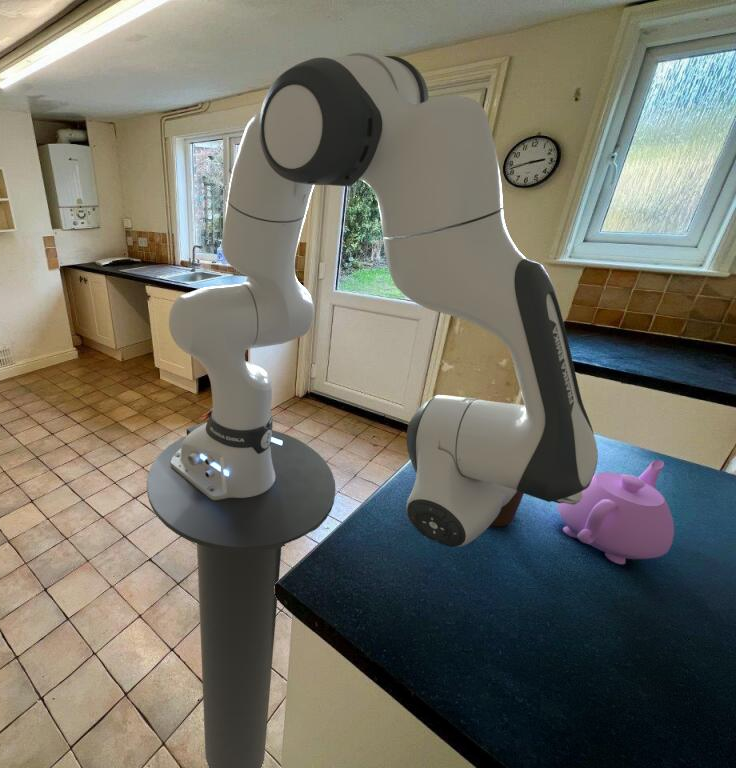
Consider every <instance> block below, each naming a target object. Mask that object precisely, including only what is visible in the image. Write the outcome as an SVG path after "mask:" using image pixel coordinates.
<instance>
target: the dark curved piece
mask: <svg viewBox="0 0 736 768" xmlns="http://www.w3.org/2000/svg"><path fill="white" fill-rule="evenodd" d="M523 497H524V493H521V492H518V491H517V492H516V493H515V495H514V496H513V497H512V498H511V500H510V501H509V502H508V503H507V504H506V505H505V506H503V507H501V510H500V513H499V515H498V516H497V517H496V519H495V520H494V521H493V522H492V523H491V525H490V526H492V527H505V526H508V525H510V524H511V523H512V522H513V520H514V518H515V516H516V514H517V511H518V508H519V507H520V504H521V501H522V499H523Z"/></svg>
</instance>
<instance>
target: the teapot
mask: <svg viewBox="0 0 736 768" xmlns="http://www.w3.org/2000/svg"><path fill="white" fill-rule="evenodd" d="M664 466H665V463H664V461H662V460H660V459H656V460H653V461H652V462H651V463H650V464H649V465H648V466H647V468H646V469H645V470H644V471H643V472H642V473H641V474H640V475H639V476H638V477H637V476H635V475H632V474H626V473H625V474H622V473H619V472H610V471H607V472H606V471H605V472H598V473H595V474H594V476H593V478H592V481H591V483H590V485H589V487H588V488H587V489H585V490H583V491H582V498H581V500H580V502H579V503H577V504H576V505H572V504H568V503H557V511H558V514H559V515H560V518H561V519H562V521H563V523H564V524H565V525H566V526H565V527H563V528H562V531H563V532H564V534H566V535H567V536H569V537H571V538H574V539H578V540H579V542H581V543H583V544H587V545H590V546H592V547H593V548H595V549H596V550H597V549H598V550H599V551H601V552H604V555H605V557H606V558H607V559H608V560H610V561H611V562H613V563H615V564H617V565H625V564H626V561H627V560H626V559H629V560H650V559H657V558H659V557H660V558H661V557H663V555H665V554H667V553H668V552H669V551H670V549H671V547H672V545H673V542H674V538H675V524H674V519H673V516H672V513H671V511H670V507H669V504H668V502H667V500H666V499H665V497H664V496H663V494H662V493H661V492H660V491H659V490H658V489H656V486H657V481H658V477H659V475H660V473H661V471H662V470H663V468H664Z"/></svg>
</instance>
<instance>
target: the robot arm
mask: <svg viewBox="0 0 736 768" xmlns="http://www.w3.org/2000/svg"><path fill="white" fill-rule="evenodd" d="M260 109H261V110H260V112H258V113H256V114H255V115H253V116H252V118H250V120H249V121H248V122H247V124H246V127H245V129H244V131H243V134H242V136H241V140H240V143H239V146H238V149H237V153H236V155H235V160H234V163H233V168H232V172H231V177H230V182H229V189H228V192H227V193H228V194H227V202H226V206H225V207H226V208H225V214H224V215H225V216H224V221H223V228H222V236H221V250H222V254H223V257H224V258H225V260H226V262H227V263H228V265H230V266H231V268H233V269H234V270H235V271H237V272H238V273H240V274H241V275H242V276H243V275H244V276H245V277H247V278H246V280H245V282H243V283H240V284H231V285H220V286H209V287H203V288H198V289H195V290H192V291H190V292H186V293H183V294H180V295H178V296H177V298H175V299H174V301H173V302H172V305H171V307H170V310H169V315H168V328H169V333H170V334H171V337H172V339H173V341H174V343H175V344H176V346H178V348H179V349H181V351H183V352H184V353H186V354H188V355H189V356H191V357H193V358H194V359H195V360H196V361H198V363H200V365H201V366H202V367H203V369H204V370H205V372H206V374H207V376H208V379H209V382H210V388H211V389H210V391H211V403H212V408H210V409H208V411H207V412H205V413H204V414H203V415H201V418H202V419H201V422H202V423H198V424H196V425H193V426H191V427H188V428H186V435H185V436H186V438H185V439H184V441H183V444H182V448H181V449H180V450H178V451H177V452H176V453H175V454H174V456H173V457H172V459H171V464H170V466H171V467H172V468H173V469H174V470H176V471H177V472H178V473H179V474H181V475H182V476H183V477H184V478H185V479H187V480H188V481H189V482H190V483H192V484H193V485H194V486H195V487H197V488H198V489H199V490H200V491H201V492H203V493H204V494H205V495H206V496H208V497H209V498H210V499H212V500H221V499H225V498H247V497H253V496H257V495H259V494H262V493H264V492H265V491H267V490H268V489H269V488H270V487H271V486H272V485H273V484H274V481H275V471H274V468H273V464H272V458H271V449H270V444H271V442H274V443H277V444H279V445H282V441H281V440H278V439H275V438H273V437H272V430H273V424H274V423H273V421H274V420H273V414H272V397H273V396H272V395H273V382H272V380H271V377H270V375H269V373H268V372H267V371H266V370H265V369H264V368H262V367H261V366H260V365H259V366H258V365H257V364H255V363H252V362H250V361H246V352H247V350H249V349H258V348H264V347H270V346H276V345H277V346H278V345H283V344H286V343H288V342H291V341H294V340H297V339H299V338H301V337H303V336H305V335H306V334H307V333H309V331H310V329H311V327H312V325H313V322H314V318H315V306H314V305H315V304H314V301H313V299H312V296H311V294H310V292H309V291H308V289H307V288H306V287H305V286H303V285H302V284H301V282H299V280H298V278H297V275H296V268H295V266H296V256H297V251H298V247H299V243H300V238H301V234H302V230H303V227H304V223H305V220H306V215H307V213H308V212H307V211H308V209H309V204H310V201H311V197H312V193H313V190H314V187H315V186H335V187H351V186H353V185H355V184H356V183H357V182H358V181H362V182H364V183H365V184H366V185H368V187H369V188H370V189H371V190H372V192H373V193H374V195H375V199H376V201H377V205H378V210H379V214H380V215H379V216H380V224H381V232H382V240H383V247H384V248H383V249H384V255H385V259H386V265H387V269H388V272H389V275H390V278H391V280H392V282H393V284H394V286H395V287H396V288H397V289H398V290H399V291H400V293H402V294H403V295H404V296H405V297H406V298H408V299H409V300H410V301H412V302H414V303H416V304H417V305H419V306H421V307H423V308H425V309H428V310H431V311H434V312H437V313H440V314H444V315H448V316H451V317H454V318H457V319H460V320H463V321H466V322H467V323H470V324H472V325H475V326H477V327H479V328H481V329H483V330H485V331H487V332H489V333H491V334H492V335H494V336H495V337H496V338H497V339H499V340H500V341H501V342H502V343H503V344H504V346H505V347H506V348H507V349H508V352H509V353H510V356H511V361H512V364H513V367H514V372H515V376H516V379H517V382H518V385H519V386H518V387H519V389H520V394H521V396H522V398H523V402H524V405H518V404H519V403H518V404H516V403H508V402H500V401H492V400H485V399H484V400H483V399H480V398H475V397H474V398H473V397H465V396H458V395H457V396H456V395H446V394H437V395H434V396H432V397H430V398H428V399H427V400H426V401H425V402H424V403H423V404H422V405H420V407H419V408H418V409H417V410H416V412H415V413H414V414H413V416H412V417H411V419H410V420H409V423H408V425H407V428H406V449H407V454H408V458H409V459H410V462H411V465H412V468H413V470H414V473H415V475H416V476H415V481H414V485H413V487H412V490H411V492H410V493H409V496H408V499H407V501H406V505H405V506H406V507H405V508H406V509H405V510H406V515H407V517H408V520H409V522H410V523H411V524H412V526H413V527H414V529H416V530H417V531H418V532H419V533H420V534H421V535H423V536H424V537H425V538H426V539H429V540H430V541H433V542H435V543H437V544H440V545H443V546H446V547H449V548H459V547H464V546H466V545H468V544H470V543H472V542H473V541H475V540H476V539H477V538H479V537H480V536H481V535H482V534H483V533H484V532H485V531H486V530H487V529H488V528H489V527H490V526H492V525H491V523H492V522H493V521H494V520H495V519H496V517H497V516H498V515H499V513H500V510H501V507H503V506H505V505H506V504H507V503H508V502H509V501H510V500H511V498H512V497H513V496H514V495H515V493H516V492H517V491H518V492H521V493H524V494H525V495H526V496H530V497H533V498H536V499H539V500H542V501H544V502H546V503H547V502H548V503H551V502H554V503H557V504H558V503H568V504H572V505H576V504H577V503H579V502H580V500H581V498H582V491H583V490H585V489H587V488H588V487H589V485H590V483H591V481H592V478H593V476H594V475H595V474H596V470H597V468H598V467H597V466H598V461H599V451H598V450H599V449H598V444H597V441H596V437H595V434H594V430H593V426H592V424H591V421H590V419H589V416H588V414H587V411H586V409H585V406H584V402H583V400H582V396H581V391H580V387H579V384H578V378H577V374H576V370H575V366H574V365H575V364H574V361H573V357H572V351H571V347H570V344H569V339H568V336H567V335H568V334H567V332H566V325H565V323H564V318H563V315H562V311H561V308H560V304H559V300H558V297H557V294H556V291H555V288H554V285H553V282H552V280H551V278H550V276H549V274H548V271H547V270H546V268H545V266H544V265H542V263H539V262H537V261H534V260H532V259H529V258H527V257H525V256H524V255H523V254H522V253H521V252H520V250H519V249H518V247H517V246H516V245H515V243H514V242H513V240H512V238H511V236H510V234H509V231H508V229H507V226H506V221H505V217H504V208H503V207H504V202H503V188H502V179H501V173H500V172H501V171H500V166H499V161H498V154H497V150H496V145H495V140H494V135H493V132H492V129H491V128H492V127H491V126H490V122H489V119H488V118H489V117H488V116H487V113H486V110H485V109H484V107H483V106H482V105H481V104H480V103H479V102H478V101H476V100H475V99H474V98H470V97H468V96H461V95H443V96H439V97H434V98H430V99H429V90H428V86H427V83H426V81H425V79H424V77H423V75H422V74H421V72H420V71H419V69H418V68H416V66H415V65H413V64H412V63H410V62H409V61H408V60H405V59H404V58H402V57H399V56H394V55H381V54H377V53H376V54H374V53H366V52H354V53H350V54H346V55H341V56H335V57H330V58H328V57H314V58H310V59H307V60H304V61H302V62H299V63H297V64H294V66H291V67H290V68H288V69H287V70H285V71H283V73H282V74H281V75H279V76H278V77H277V78H276V79H275V81H274V82H273V83H272V84H271V86H270V87H269V88H268V90H267V93H266V95H265V97H264V99H263V102H262V106H261V108H260ZM207 419H208V420H207ZM205 420H207V421H205ZM524 494H523V495H524Z"/></svg>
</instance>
